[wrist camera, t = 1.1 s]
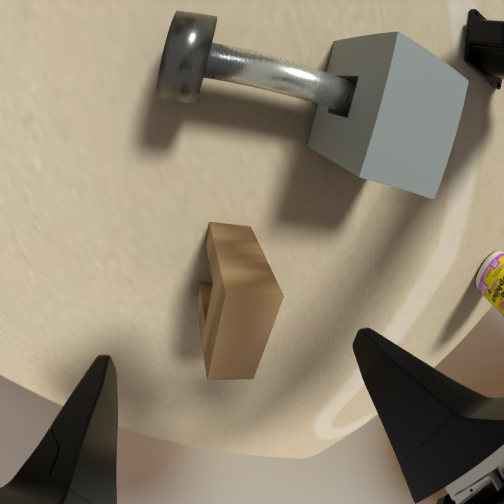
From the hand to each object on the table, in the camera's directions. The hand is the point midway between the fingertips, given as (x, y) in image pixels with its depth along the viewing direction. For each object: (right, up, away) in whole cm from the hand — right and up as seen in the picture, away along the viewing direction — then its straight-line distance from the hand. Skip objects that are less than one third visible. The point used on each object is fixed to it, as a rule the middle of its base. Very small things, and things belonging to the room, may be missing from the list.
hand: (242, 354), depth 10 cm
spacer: (-2, +2, +13) cm, 14 cm away
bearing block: (+8, +14, +9) cm, 18 cm away
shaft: (+2, +14, +7) cm, 16 cm away
